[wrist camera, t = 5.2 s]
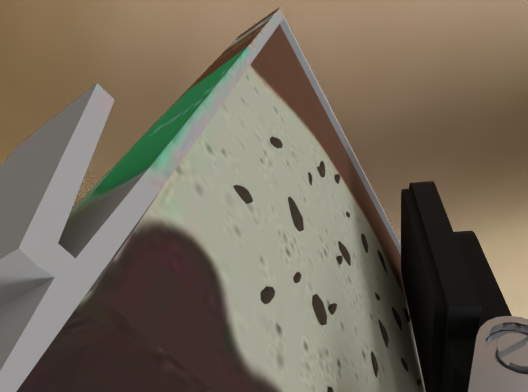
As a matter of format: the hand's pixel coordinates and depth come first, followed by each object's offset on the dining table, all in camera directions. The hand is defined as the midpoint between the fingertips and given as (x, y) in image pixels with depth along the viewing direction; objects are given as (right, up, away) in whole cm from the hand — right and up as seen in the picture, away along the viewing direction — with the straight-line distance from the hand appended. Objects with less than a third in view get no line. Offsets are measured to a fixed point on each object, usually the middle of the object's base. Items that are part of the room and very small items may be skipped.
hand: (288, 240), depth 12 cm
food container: (-1, +1, +2) cm, 2 cm away
